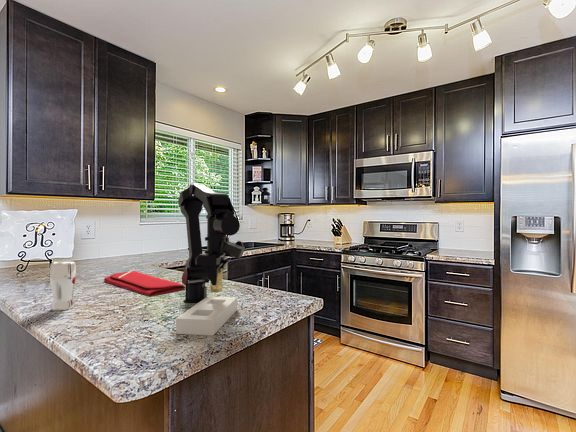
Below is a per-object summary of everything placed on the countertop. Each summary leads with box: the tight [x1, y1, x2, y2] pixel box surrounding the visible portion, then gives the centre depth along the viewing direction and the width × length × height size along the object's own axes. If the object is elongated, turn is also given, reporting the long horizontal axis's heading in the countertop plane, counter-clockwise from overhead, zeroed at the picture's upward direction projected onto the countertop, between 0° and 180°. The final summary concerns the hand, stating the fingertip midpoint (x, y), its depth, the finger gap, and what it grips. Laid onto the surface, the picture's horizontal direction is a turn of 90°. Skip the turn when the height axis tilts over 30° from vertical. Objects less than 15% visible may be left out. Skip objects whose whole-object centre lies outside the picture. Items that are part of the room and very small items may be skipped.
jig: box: [175, 296, 238, 337], centre depth 92 cm, size 10×22×4 cm, turn 173°
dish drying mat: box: [103, 270, 186, 297], centre depth 137 cm, size 16×41×4 cm, turn 52°
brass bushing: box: [210, 268, 223, 293], centre depth 98 cm, size 4×4×7 cm
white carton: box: [49, 260, 77, 312], centre depth 103 cm, size 7×7×15 cm
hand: (216, 283), depth 98 cm, fingers closed on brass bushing, 4 cm apart
